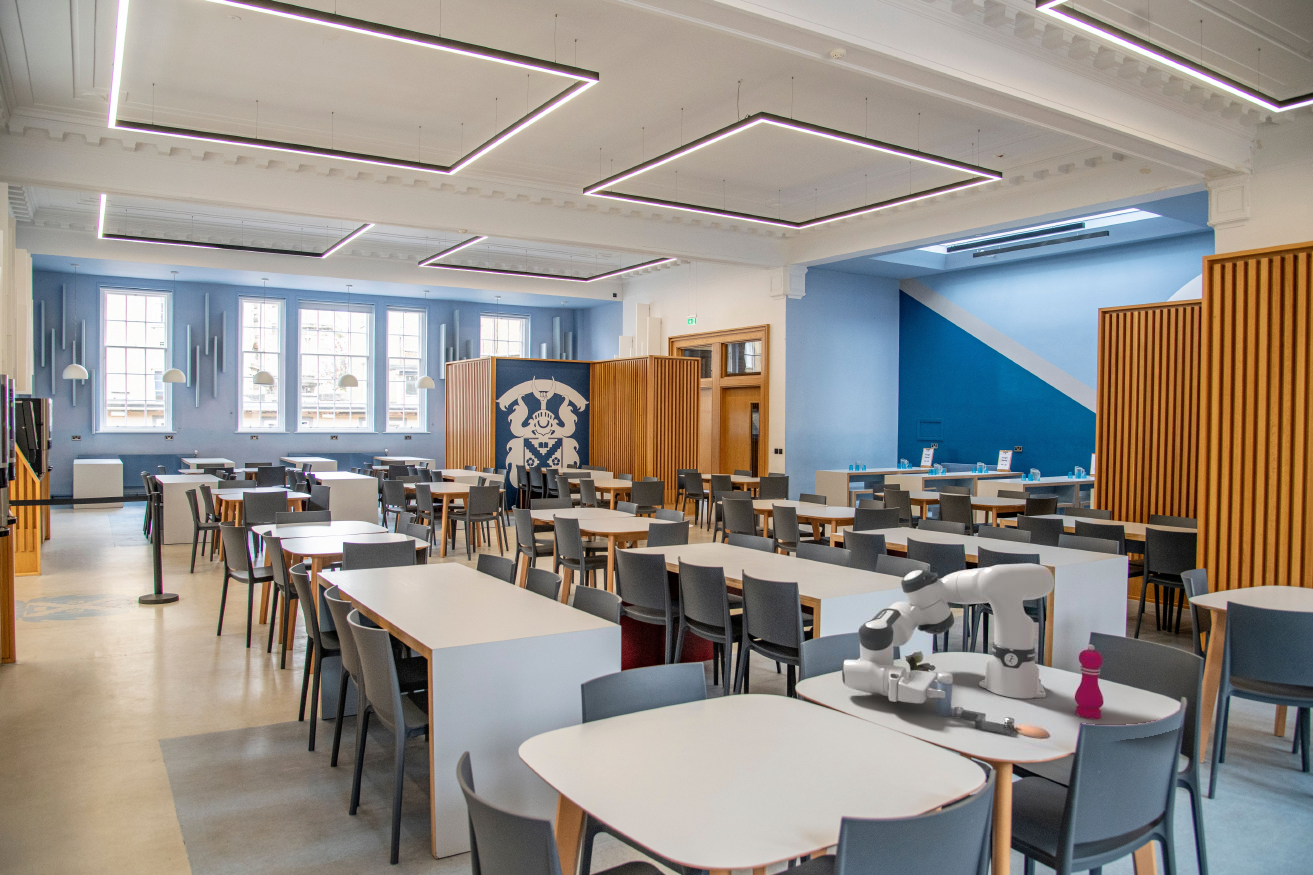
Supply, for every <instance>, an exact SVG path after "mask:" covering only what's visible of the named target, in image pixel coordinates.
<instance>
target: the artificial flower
mask: <svg viewBox="0 0 1313 875" xmlns="http://www.w3.org/2000/svg"><path fill="white" fill-rule="evenodd" d="M904 657H905V661H906V662H907V663H908V665H909V669H910V670H909V672H910V671H912V670H919V671H927V672H931V671H932V672H933V671H935V669H936V666H935V665H931V663H929V662H925V663H921V662H923V659H924V654H923V652H922V650H920V651H916V652H913V654H910V655H904Z"/></svg>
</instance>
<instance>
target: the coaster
mask: <svg viewBox="0 0 1313 875" xmlns="http://www.w3.org/2000/svg"><path fill="white" fill-rule="evenodd" d="M1014 730H1015V732H1017V733H1018V734H1020V735H1022V736H1026V737H1029V738H1036V739H1044V738H1047V737H1049V734H1050V733H1049V732H1048V731H1047V730H1046V729H1045V728H1041V727H1039V726H1035V725H1029V724H1028V725H1027V724H1021V725H1016V726H1014Z"/></svg>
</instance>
